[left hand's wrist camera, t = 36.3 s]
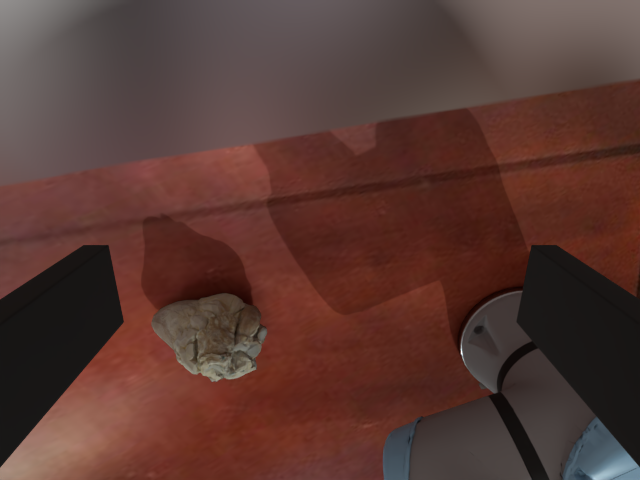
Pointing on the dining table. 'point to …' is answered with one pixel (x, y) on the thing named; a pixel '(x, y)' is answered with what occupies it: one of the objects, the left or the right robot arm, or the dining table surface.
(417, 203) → the dining table surface
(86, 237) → the dining table surface
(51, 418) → the dining table surface
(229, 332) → the lumpy boulder
